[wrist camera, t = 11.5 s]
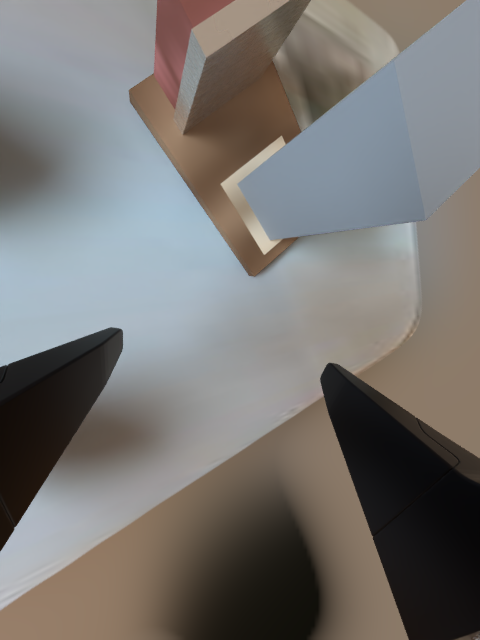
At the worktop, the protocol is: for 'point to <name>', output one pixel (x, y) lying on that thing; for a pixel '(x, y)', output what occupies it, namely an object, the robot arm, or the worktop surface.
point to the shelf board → (221, 106)
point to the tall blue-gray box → (382, 142)
